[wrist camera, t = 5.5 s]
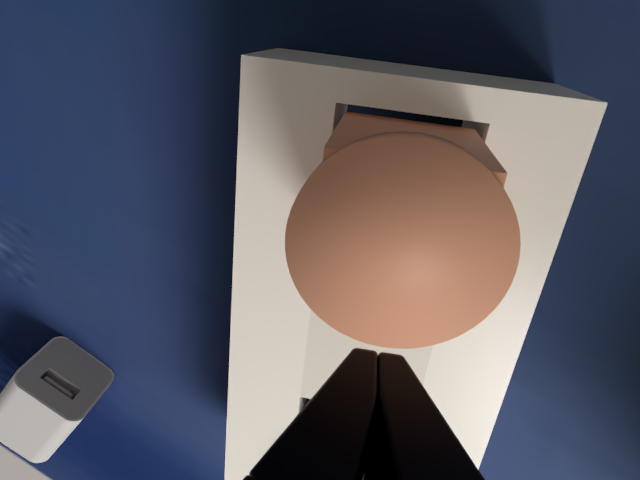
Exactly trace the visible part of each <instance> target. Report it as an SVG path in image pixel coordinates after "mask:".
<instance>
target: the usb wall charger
mask: <svg viewBox="0 0 640 480" xmlns="http://www.w3.org/2000/svg"><path fill="white" fill-rule="evenodd" d="M113 380H114V373H113V371H112V370H111V369H110V368H109V367H107V366H106V365H104V364H103V363H102V362H100V361H99V360H97V359H96V358H95V357H93V356H92V355H90V354H89V353H88V352H86V351H85V350H83V349H82V348H81V347H79V346H78V345H76V344H75V343H74V342H72V341H71V340H69V339H68V338H67V337H63V336H58V337H54V338H52V339H51V340H50V341H49V342H48V343H47V344H46V345H44V346H43V347H42V348H41V349H40V350H39V351H38V352H37V353H36V354H34V355H33V356H32V357H31V358H30V359H29V360H28V361H27V362H26V363H24V364H23V365H22V366H21V367H20V368H19V369H18V370H17V371H16V372H15V374H14V375H13V377H12V378H11V379H10V381H9V382H8V384H7V385H6V387H5V388H4V389H3V391H2V392H1V394H0V442H1V443H3V444H4V445H6V446H7V447H9V448H10V449H12V450H14V451H15V452H17V453H18V454H20V455H21V456H23V457H24V458H26V459H27V460H29V461H30V462H33V463H41V462H44V461H46V460H48V459H49V458H50V457H51V455H52V454H53V453H54V452H55V451H56V450H57V449H58V447H59V446H60V445H61V444H62V443H63V442H64V440H65V439H66V438H67V437H68V436H69V435H70V433H71V432H72V431H73V430H74V429H75V428H76V426H77V425H78V424H79V423H80V422H81V421H82V419H83V418H84V417H85V416H86V415H87V413H88V412H89V411H90V410H91V408H92V407H93V406H94V405H95V403H96V402H97V401H98V400H99V399H100V397H101V396H102V395H103V394H104V392H105V391H106V390H107V389H108V387H109V386H110V385H111V384H112V382H113Z"/></svg>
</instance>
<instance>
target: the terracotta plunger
mask: <svg viewBox="0 0 640 480" xmlns="http://www.w3.org/2000/svg"><path fill="white" fill-rule="evenodd" d="M507 174H508V173H507V172H506V171H505V169H504V168H503V167H502V165H501V164H500V163H499V161H498V160H497V158H496V157H495V156H494V154H493V153H492V152H491V150H490V149H489V148H488V146H487V145H486V144H485V142H484V141H483V140H482V138H481V137H480V136H479V134H478V133H477V132H476V130H475V129H470V128H463V127H456V126H448V125H441V124H434V123H427V122H420V121H413V120H405V119H398V118H391V117H384V116H377V115H369V114H362V113H355V112H348V111H346V112H345V114H344V115H343V117H342V118H341V120H340V122H339V123H338V125H337V127H336V128H335V130H334V132H333V133H332V135H331V137H330V138H329V140H328V141H327V143H326V145H325V146H324V154H323V162H322V163H321V164H319V166H318V167H317V168H316V169H315V170H314V171H313V172H312V173H311V175H310V176H309V177H308V179H307V180H306V182H305V183H304V185H303V186H302V188H301V190H300V192H299V193H298V195H297V197H296V199H295V201H294V203H293V205H292V207H291V210H290V214H289V217H288V220H287V225H286V232H285V254H286V261H287V265H288V269H289V273H290V275H291V278H292V280H293V283H294V285H295V287H296V289H297V290H298V292H299V294H300V296H301V297H302V299H303V300H304V301H305V303H306V304H307V305H308V306H309V308H310V309H311V310H312V311H313V312H314V313H315V314H316V315H317V316H318V317H319V318H320V319H322V320H323V321H324V322H325V323H326V324H328V325H329V326H330V327H332V328H334V329H335V330H337V331H338V332H340V333H342V334H344V335H346V336H348V337H350V338H352V339H355V340H358V341H360V342H363V343H366V344H370V345H374V346H379V347H386V348H397V349H410V348H421V347H426V346H431V345H436V344H439V343H442V342H445V341H449V340H451V339H453V338H455V337H458V336H460V335H462V334H464V333H465V332H467V331H469V330H470V329H472V328H474V327H475V326H476V325H478V324H479V323H480V322H482V321H483V320H484V319H485V318H486V317H487V316H488V315H489V314H490V313H491V312H492V311H493V310H494V309H495V308H496V307H497V306H498V305H499V303H500V302H501V301H502V299H503V298H504V296H505V295H506V293H507V291H508V290H509V288H510V286H511V284H512V281H513V279H514V276H515V274H516V271H517V267H518V263H519V258H520V247H521V241H520V228H519V224H518V219H517V215H516V212H515V210H514V207H513V205H512V202H511V200H510V198H509V197H508V195H507V193H506V191H505V190H504V184H505V181H506V177H507Z"/></svg>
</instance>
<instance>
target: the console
mask: <svg viewBox="0 0 640 480" xmlns="http://www.w3.org/2000/svg"><path fill="white" fill-rule="evenodd" d="M348 104H350V105H358V106H365V107H372V108H380V109H387V110H394V111H401V112H409V113H416V114H423V115H430V116H438V117H445V118H452V119H459V120H463V123H462V127H463V128H470V129H475V130H476V132H477V133H478V134H479V136H480V137H481V138H482V140H483V141H484V142H485V144H486V145H487V146H488V148H489V149H490V150H491V152H492V153H493V154H494V156H495V157H496V158H497V160H498V161H499V163H500V164H501V165H502V167H503V168H504V169H505V171H506V172H507V173H508V174H507V177H506V181H505V184H504V190H505V191H506V193H507V195H508V197H509V198H510V200H511V202H512V205H513V207H514V210H515V212H516V215H517V219H518V224H519V228H520V241H521V247H520V258H519V263H518V267H517V271H516V274H515V276H514V279H513V281H512V284H511V286H510V288H509V290H508V291H507V293H506V295H505V296H504V298H503V299H502V301H501V302H500V303H499V305H498V306H497V307H496V308H495V309H494V310H493V311H492V312H491V313H490V314H489V315H488V316H487V317H486V318H485V319H484V320H483V321H482V322H480V323H479V324H478V325H476V326H475V327H474V328H472V329H470V330H469V331H467V332H465V333H464V334H462V335H460V336H458V337H455V338H453V339H451V340H449V341H445V342H442V343H439V344H436V345H431V346H426V347H421V348H410V349H397V348H386V347H379V346H374V345H370V344H366V343H363V342H360V341H358V340H355V339H352V338H350V337H348V336H346V335H344V334H342V333H340V332H338V331H337V330H335V329H334V328H332V327H330V326H329V325H328V324H326V323H325V322H324V321H323V320H322V319H320V318H319V317H318V316H317V315H316V314H315V313H314V312H313V311H312V310H311V309H310V308H309V306H308V305H307V304H306V303H305V301H304V300H303V299H302V297H301V296H300V294H299V292H298V290H297V289H296V287H295V285H294V283H293V280H292V278H291V275H290V273H289V269H288V265H287V261H286V254H285V232H286V225H287V220H288V217H289V214H290V210H291V207H292V205H293V203H294V201H295V199H296V197H297V195H298V193H299V192H300V190H301V188H302V186H303V185H304V183H305V182H306V180H307V179H308V177H309V176H310V175H311V173H312V172H313V171H314V170H315V169H316V168H317V167H318V166H319V164H321V163H322V162H323V154H324V146H325V145H326V143H327V141H328V140H329V138H330V137H331V135H332V133H333V132H334V130H335V128H336V127H337V125H338V123H339V122H340V120H341V118H342V117H343V115H344V114H345V112H346V111H347V107H348ZM607 104H608V103H607V102H604V101H601V100H599V99H596V98H593V97H591V96H588V95H585V94H582V93H580V92H577V91H574V90H571V89H569V88H566V87H563V86H561V85H558V84H555V83H547V82H540V81H532V80H524V79H516V78H509V77H501V76H493V75H485V74H478V73H470V72H462V71H454V70H447V69H439V68H431V67H423V66H415V65H408V64H400V63H392V62H384V61H377V60H369V59H361V58H353V57H346V56H338V55H330V54H322V53H315V52H307V51H299V50H291V49H284V48H275V49H270V50H264V51H259V52H253V53H248V54H243V55H241V71H240V97H239V122H238V148H237V173H236V199H235V225H234V250H233V276H232V302H231V327H230V353H229V379H228V404H227V430H226V455H225V480H243V479H244V478H245V476H247V475H249V473H250V471H251V470H252V468H253V467H254V466H255V465H256V464H257V463H258V461H259V460H260V459H261V458H262V457H263V455H264V454H265V453H266V452H267V451H268V449H269V448H270V447H271V446H272V445H273V443H274V442H275V441H276V440H277V439H278V438H279V436H280V435H281V434H282V433H283V432H284V430H285V429H286V428H287V427H288V426H289V424H290V423H291V422H292V421H293V420H294V418H295V417H296V416H297V415H298V414H299V413H300V411H301V410H302V409H303V408H304V407H305V405H306V404H307V403H308V402H309V399H311V398H312V397H313V396H314V395H315V393H316V392H317V391H318V390H319V389H320V388H321V386H322V385H323V384H324V383H325V382H326V380H327V379H328V378H329V377H330V376H331V374H332V373H333V372H334V371H335V370H336V368H337V367H338V366H339V365H340V364H341V363H342V361H343V360H344V359H345V358H346V357H347V355H348V354H349V353H350V352H351V351H352V350H353V349H354V348H361V349H368V350H374V351H376V352H377V354H379V353H380V352H386V353H393V354H399V355H402V356H403V357H404V358H405V359H406V361H407V362H408V364H409V365H410V367H411V368H412V370H413V371H414V373H415V374H416V376H417V377H418V379H419V380H420V382H421V383H422V385H423V387H424V388H425V390H426V391H427V393H428V394H429V396H430V397H431V399H432V400H433V402H434V403H435V405H436V406H437V408H438V409H439V411H440V412H441V414H442V415H443V417H444V418H445V420H446V422H447V423H448V425H449V426H450V428H451V429H452V431H453V432H454V434H455V435H456V437H457V438H458V440H459V441H460V443H461V444H462V446H463V447H464V449H465V450H466V452H467V454H468V455H469V457H470V458H471V460H472V461H473V463H474V464H475V466H476V467H477V469H479V466H480V464H481V461H482V458H483V455H484V452H485V449H486V447H487V444H488V441H489V438H490V435H491V432H492V430H493V427H494V424H495V421H496V418H497V415H498V413H499V410H500V407H501V404H502V401H503V398H504V396H505V393H506V390H507V387H508V384H509V381H510V379H511V376H512V373H513V370H514V367H515V364H516V362H517V359H518V356H519V353H520V350H521V347H522V345H523V342H524V339H525V336H526V333H527V330H528V328H529V325H530V322H531V319H532V316H533V313H534V311H535V308H536V305H537V302H538V299H539V296H540V294H541V291H542V288H543V285H544V282H545V279H546V277H547V274H548V271H549V268H550V265H551V262H552V260H553V257H554V254H555V251H556V248H557V245H558V243H559V240H560V237H561V234H562V231H563V228H564V226H565V223H566V220H567V217H568V214H569V211H570V209H571V206H572V203H573V200H574V197H575V194H576V192H577V189H578V186H579V183H580V180H581V178H582V175H583V172H584V169H585V166H586V163H587V161H588V158H589V155H590V152H591V149H592V146H593V144H594V141H595V138H596V135H597V132H598V129H599V127H600V124H601V121H602V118H603V115H604V112H605V110H606V107H607Z"/></svg>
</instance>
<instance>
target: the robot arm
mask: <svg viewBox="0 0 640 480" xmlns="http://www.w3.org/2000/svg"><path fill="white" fill-rule="evenodd" d="M243 480H485V479H484V478H483V476H482V475H481V473H480V472H479V470H478V469H477V467H476V466H475V464H474V463H473V461H472V460H471V458H470V457H469V455H468V454H467V452H466V450H465V449H464V447H463V446H462V444H461V443H460V441H459V440H458V438H457V437H456V435H455V434H454V432H453V431H452V429H451V428H450V426H449V425H448V423H447V422H446V420H445V418H444V417H443V415H442V414H441V412H440V411H439V409H438V408H437V406H436V405H435V403H434V402H433V400H432V399H431V397H430V396H429V394H428V393H427V391H426V390H425V388H424V387H423V385H422V383H421V382H420V380H419V379H418V377H417V376H416V374H415V373H414V371H413V370H412V368H411V367H410V365H409V364H408V362H407V361H406V359H405V358H404V357H403V356H402V355H399V354H393V353H386V352H380V353H379V354H377V352H376V351H374V350H368V349H361V348H354V349H353V350H352V351H351V352H350V353H349V354H348V355H347V357H346V358H345V359H344V360H343V361H342V363H341V364H340V365H339V366H338V367H337V368H336V370H335V371H334V372H333V373H332V374H331V376H330V377H329V378H328V379H327V380H326V382H325V383H324V384H323V385H322V386H321V388H320V389H319V390H318V391H317V392H316V393H315V395H314V396H313V397H312V398H311V399H310V401H309V402H308V403H307V404H306V405H305V407H304V408H303V409H302V410H301V411H300V413H299V414H298V415H297V416H296V417H295V418H294V420H293V421H292V422H291V423H290V424H289V426H288V427H287V428H286V429H285V430H284V432H283V433H282V434H281V435H280V436H279V438H278V439H277V440H276V441H275V442H274V443H273V445H272V446H271V447H270V448H269V449H268V451H267V452H266V453H265V454H264V455H263V457H262V458H261V459H260V460H259V461H258V463H257V464H256V465H255V466H254V467H253V468H252V470H251V471H250V473H249V475H247V476H245V478H244V479H243Z"/></svg>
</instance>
